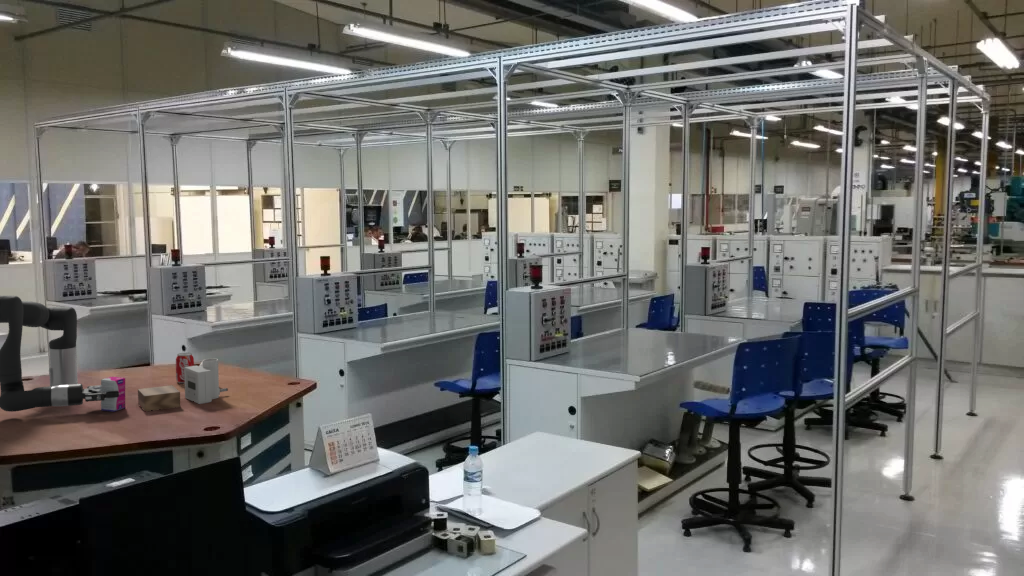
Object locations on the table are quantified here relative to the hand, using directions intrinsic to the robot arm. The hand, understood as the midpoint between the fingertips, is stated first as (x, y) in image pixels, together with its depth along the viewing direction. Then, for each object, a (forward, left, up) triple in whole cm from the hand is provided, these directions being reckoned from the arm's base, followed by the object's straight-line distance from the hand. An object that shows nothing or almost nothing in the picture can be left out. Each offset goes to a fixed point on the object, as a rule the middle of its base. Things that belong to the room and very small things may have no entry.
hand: (119, 391), depth 272 cm
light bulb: (+32, +26, -7) cm, 42 cm away
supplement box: (-2, 0, -7) cm, 7 cm away
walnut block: (+13, 0, -7) cm, 15 cm away
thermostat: (+31, +5, -7) cm, 32 cm away
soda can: (+24, +36, -7) cm, 44 cm away
